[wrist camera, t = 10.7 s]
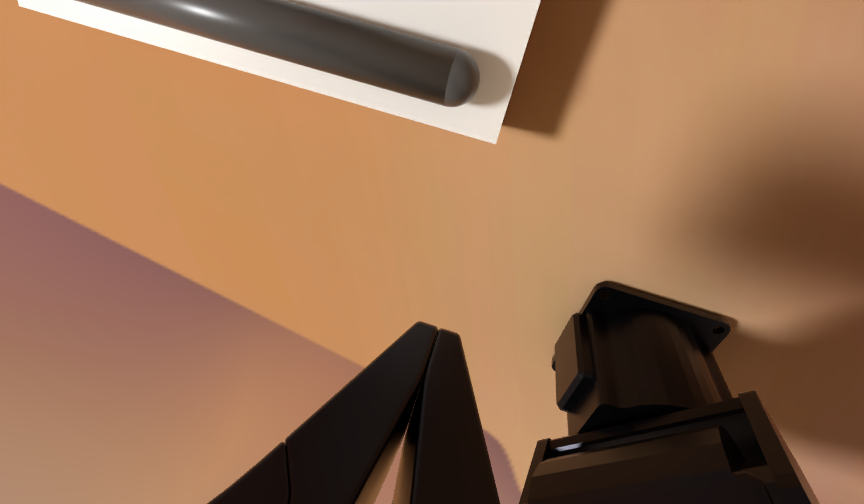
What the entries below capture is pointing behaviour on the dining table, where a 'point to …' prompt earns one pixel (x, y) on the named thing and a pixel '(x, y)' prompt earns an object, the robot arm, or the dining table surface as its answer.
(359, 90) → the panel
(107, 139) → the dining table surface
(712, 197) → the dining table surface
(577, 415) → the robot arm
